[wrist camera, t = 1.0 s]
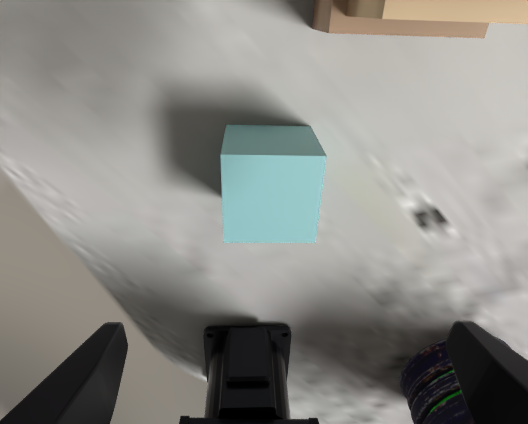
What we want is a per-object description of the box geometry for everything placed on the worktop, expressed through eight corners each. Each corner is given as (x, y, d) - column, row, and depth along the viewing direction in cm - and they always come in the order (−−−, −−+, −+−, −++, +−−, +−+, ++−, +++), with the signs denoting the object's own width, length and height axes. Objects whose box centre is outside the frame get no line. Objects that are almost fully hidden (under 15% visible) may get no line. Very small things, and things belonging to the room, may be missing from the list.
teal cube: (302, 199, 21) (315, 242, 17) (227, 198, 21) (223, 242, 17) (310, 125, 19) (326, 156, 15) (226, 124, 18) (220, 154, 15)
